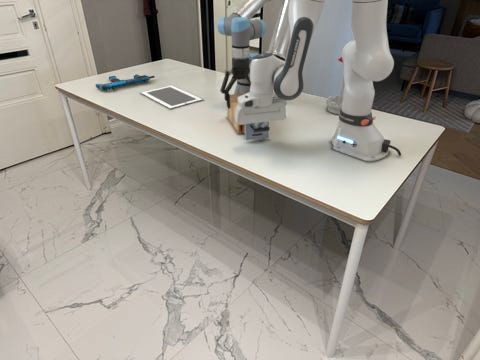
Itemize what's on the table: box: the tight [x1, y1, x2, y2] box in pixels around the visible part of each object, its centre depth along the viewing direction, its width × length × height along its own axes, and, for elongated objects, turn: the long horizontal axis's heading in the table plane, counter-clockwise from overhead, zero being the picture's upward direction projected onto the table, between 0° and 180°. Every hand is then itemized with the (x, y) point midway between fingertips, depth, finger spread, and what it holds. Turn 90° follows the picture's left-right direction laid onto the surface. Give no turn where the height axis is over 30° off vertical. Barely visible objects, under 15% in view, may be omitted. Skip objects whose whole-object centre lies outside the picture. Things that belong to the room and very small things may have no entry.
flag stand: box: [325, 56, 344, 115], centre depth 162 cm, size 13×13×30 cm
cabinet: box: [226, 93, 246, 135], centre depth 153 cm, size 20×11×11 cm, turn 16°
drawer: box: [241, 121, 271, 141], centre depth 144 cm, size 24×10×9 cm, turn 16°
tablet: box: [140, 85, 204, 110], centre depth 187 cm, size 32×20×1 cm, turn 41°
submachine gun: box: [94, 74, 155, 92], centre depth 207 cm, size 34×4×25 cm
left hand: (240, 106), depth 158 cm, fingers closed on cabinet, 11 cm apart
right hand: (260, 131), depth 136 cm, fingers closed, pressing on drawer
